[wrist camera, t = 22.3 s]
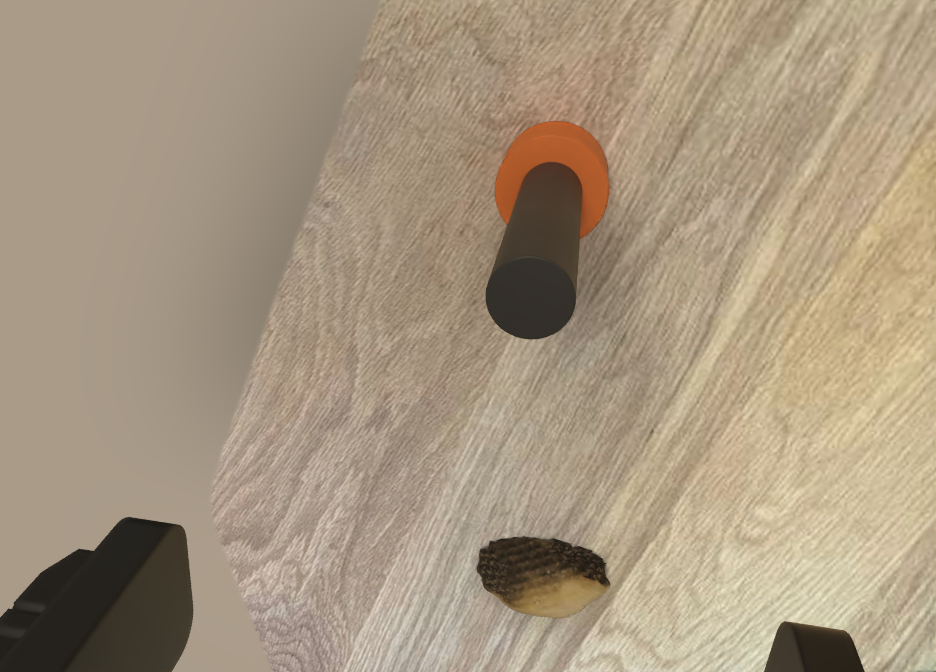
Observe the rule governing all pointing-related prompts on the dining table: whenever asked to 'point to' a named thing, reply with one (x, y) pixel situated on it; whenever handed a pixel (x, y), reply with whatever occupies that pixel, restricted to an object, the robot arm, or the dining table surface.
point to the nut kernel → (542, 576)
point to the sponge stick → (544, 226)
